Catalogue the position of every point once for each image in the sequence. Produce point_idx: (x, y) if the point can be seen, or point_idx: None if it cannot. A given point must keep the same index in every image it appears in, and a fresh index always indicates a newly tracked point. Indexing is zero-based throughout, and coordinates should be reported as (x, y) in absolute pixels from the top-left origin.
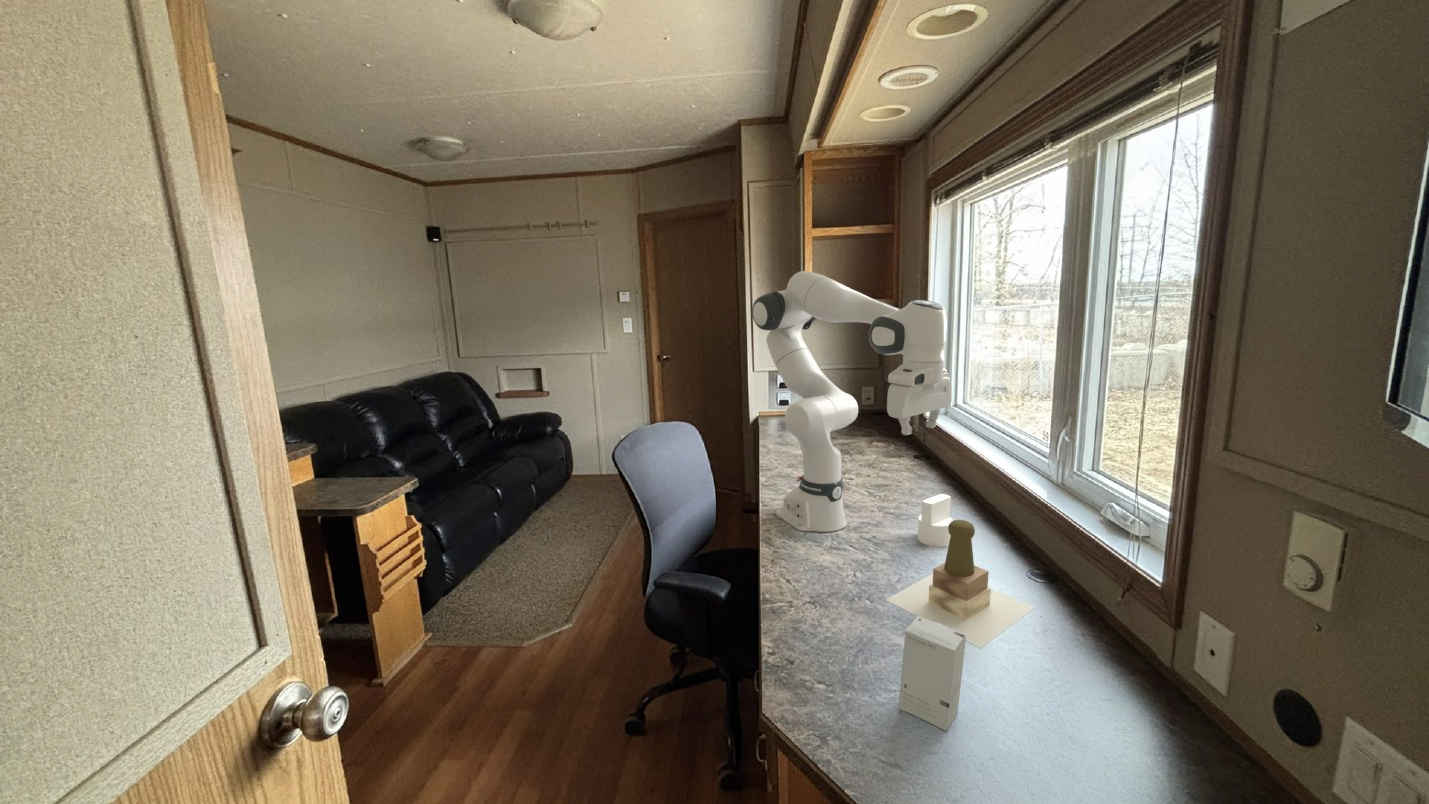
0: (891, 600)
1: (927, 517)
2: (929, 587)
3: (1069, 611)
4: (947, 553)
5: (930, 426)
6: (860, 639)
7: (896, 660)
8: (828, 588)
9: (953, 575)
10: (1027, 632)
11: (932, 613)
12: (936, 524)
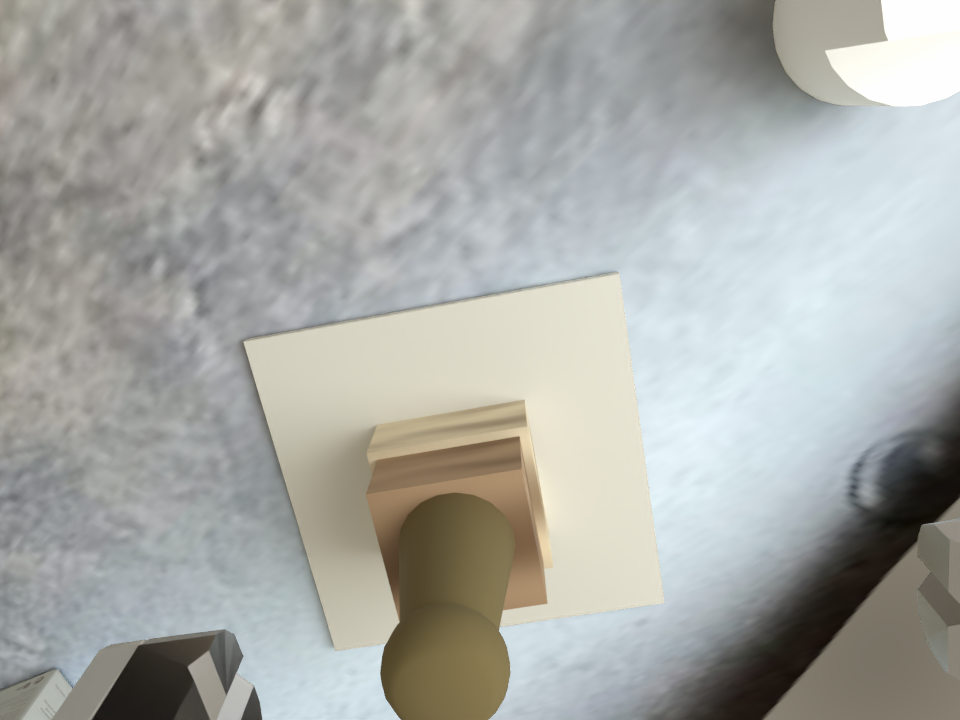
0: (260, 356)
1: (837, 23)
2: (367, 451)
3: (745, 644)
4: (408, 558)
5: (936, 619)
6: (43, 459)
7: (92, 573)
8: (91, 148)
9: (398, 564)
10: (531, 650)
11: (337, 478)
12: (859, 59)
